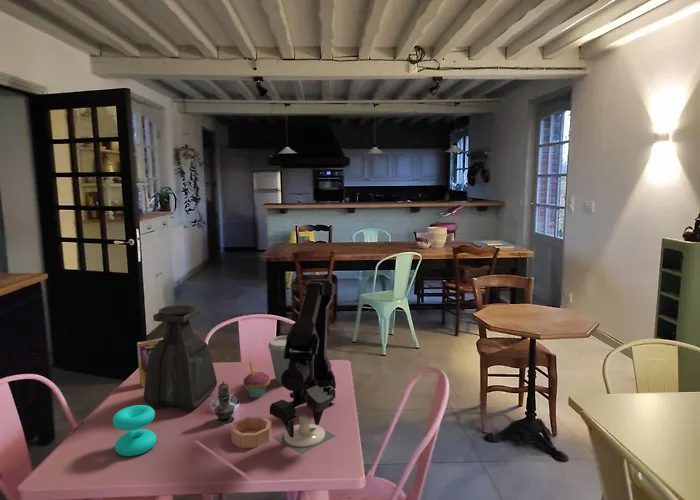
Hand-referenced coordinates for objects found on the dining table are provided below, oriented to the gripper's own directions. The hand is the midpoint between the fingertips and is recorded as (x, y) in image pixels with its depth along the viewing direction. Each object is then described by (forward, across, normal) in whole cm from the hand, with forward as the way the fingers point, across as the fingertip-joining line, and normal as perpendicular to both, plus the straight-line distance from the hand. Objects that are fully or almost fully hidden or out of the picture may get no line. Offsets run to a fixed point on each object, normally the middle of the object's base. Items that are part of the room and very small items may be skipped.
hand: (304, 430), depth 129 cm
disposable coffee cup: (+2, +21, +35) cm, 41 cm away
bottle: (+2, -11, +47) cm, 48 cm away
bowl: (+2, -10, +10) cm, 14 cm away
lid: (+2, 0, 0) cm, 2 cm away
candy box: (+2, -11, +67) cm, 68 cm away
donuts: (+2, -33, +29) cm, 44 cm away
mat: (+2, 0, 0) cm, 2 cm away
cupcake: (+2, +8, +33) cm, 34 cm away
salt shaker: (+2, -9, +25) cm, 27 cm away
